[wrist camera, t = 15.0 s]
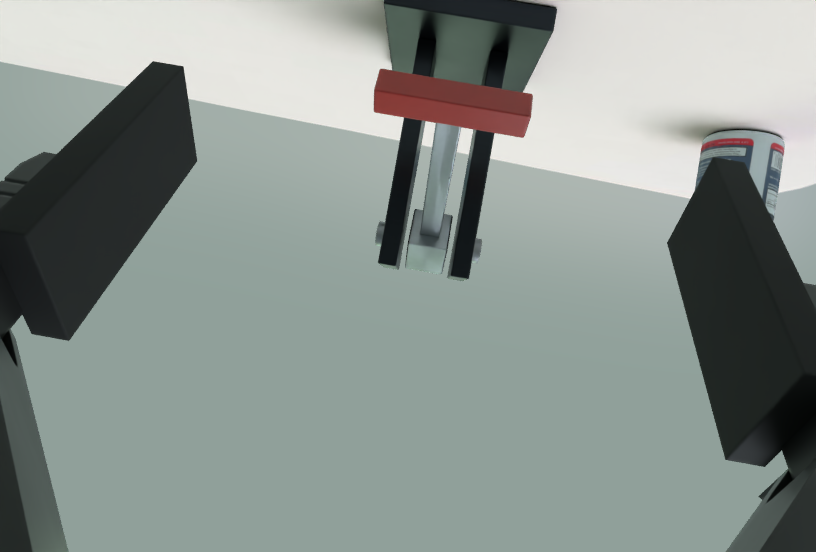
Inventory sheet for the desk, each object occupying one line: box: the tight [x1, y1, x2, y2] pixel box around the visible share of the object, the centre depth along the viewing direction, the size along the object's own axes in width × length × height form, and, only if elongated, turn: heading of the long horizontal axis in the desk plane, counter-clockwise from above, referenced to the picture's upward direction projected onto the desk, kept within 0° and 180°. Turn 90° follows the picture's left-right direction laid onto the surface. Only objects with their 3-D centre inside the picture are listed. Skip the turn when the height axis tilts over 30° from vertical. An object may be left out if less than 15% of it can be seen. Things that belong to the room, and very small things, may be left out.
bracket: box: [375, 0, 557, 281], centre depth 36 cm, size 11×8×14 cm
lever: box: [374, 69, 533, 274], centre depth 31 cm, size 13×6×2 cm, turn 2°
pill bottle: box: [695, 130, 785, 220], centre depth 44 cm, size 5×5×9 cm
